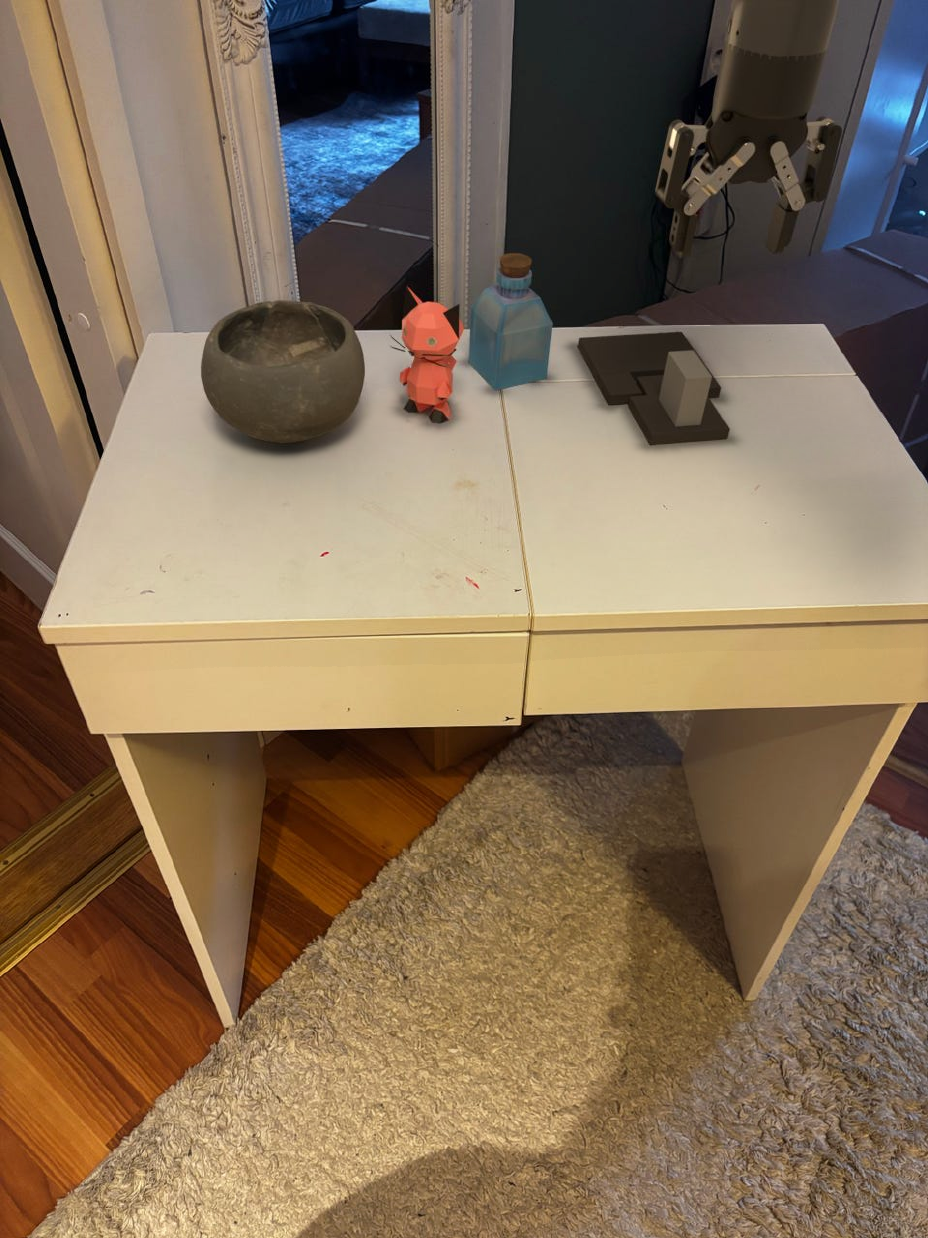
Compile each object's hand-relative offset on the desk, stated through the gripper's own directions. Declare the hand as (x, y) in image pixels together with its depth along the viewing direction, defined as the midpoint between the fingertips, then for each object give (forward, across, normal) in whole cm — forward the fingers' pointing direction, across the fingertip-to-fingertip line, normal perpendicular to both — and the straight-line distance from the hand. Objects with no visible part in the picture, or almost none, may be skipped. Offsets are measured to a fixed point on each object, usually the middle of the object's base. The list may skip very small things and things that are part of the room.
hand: (727, 252), depth 81 cm
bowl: (+18, -39, +5) cm, 43 cm away
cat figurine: (+18, -25, +6) cm, 31 cm away
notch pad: (+17, -1, +10) cm, 20 cm away
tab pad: (+17, -1, +2) cm, 18 cm away
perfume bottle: (+18, -16, +13) cm, 27 cm away
